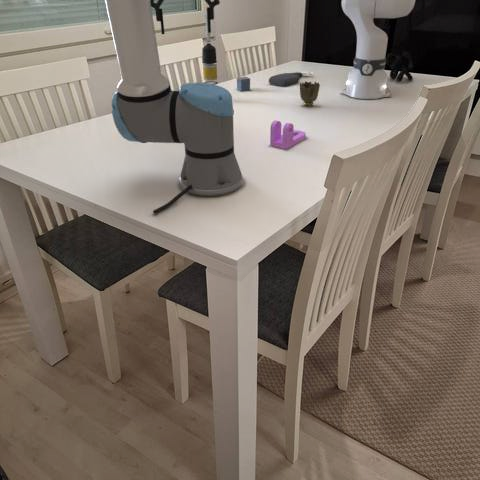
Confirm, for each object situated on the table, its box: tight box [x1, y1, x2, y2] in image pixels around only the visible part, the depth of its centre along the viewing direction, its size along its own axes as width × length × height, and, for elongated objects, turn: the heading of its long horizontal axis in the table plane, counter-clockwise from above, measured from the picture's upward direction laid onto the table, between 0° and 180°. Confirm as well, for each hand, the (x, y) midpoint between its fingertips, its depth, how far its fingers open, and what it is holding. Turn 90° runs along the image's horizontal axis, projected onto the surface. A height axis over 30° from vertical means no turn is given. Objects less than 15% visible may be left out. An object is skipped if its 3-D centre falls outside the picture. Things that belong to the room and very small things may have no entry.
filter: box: [201, 14, 219, 85], centre depth 171 cm, size 6×6×30 cm
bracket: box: [269, 119, 306, 150], centre depth 133 cm, size 13×6×7 cm, turn 143°
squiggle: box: [385, 51, 414, 83], centre depth 198 cm, size 11×10×15 cm
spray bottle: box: [268, 70, 315, 87], centre depth 203 cm, size 3×11×24 cm
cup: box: [299, 81, 321, 107], centre depth 165 cm, size 8×7×8 cm
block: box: [236, 76, 251, 92], centre depth 189 cm, size 4×4×5 cm
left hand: (186, 33), depth 132 cm, fingers open, 13 cm apart
